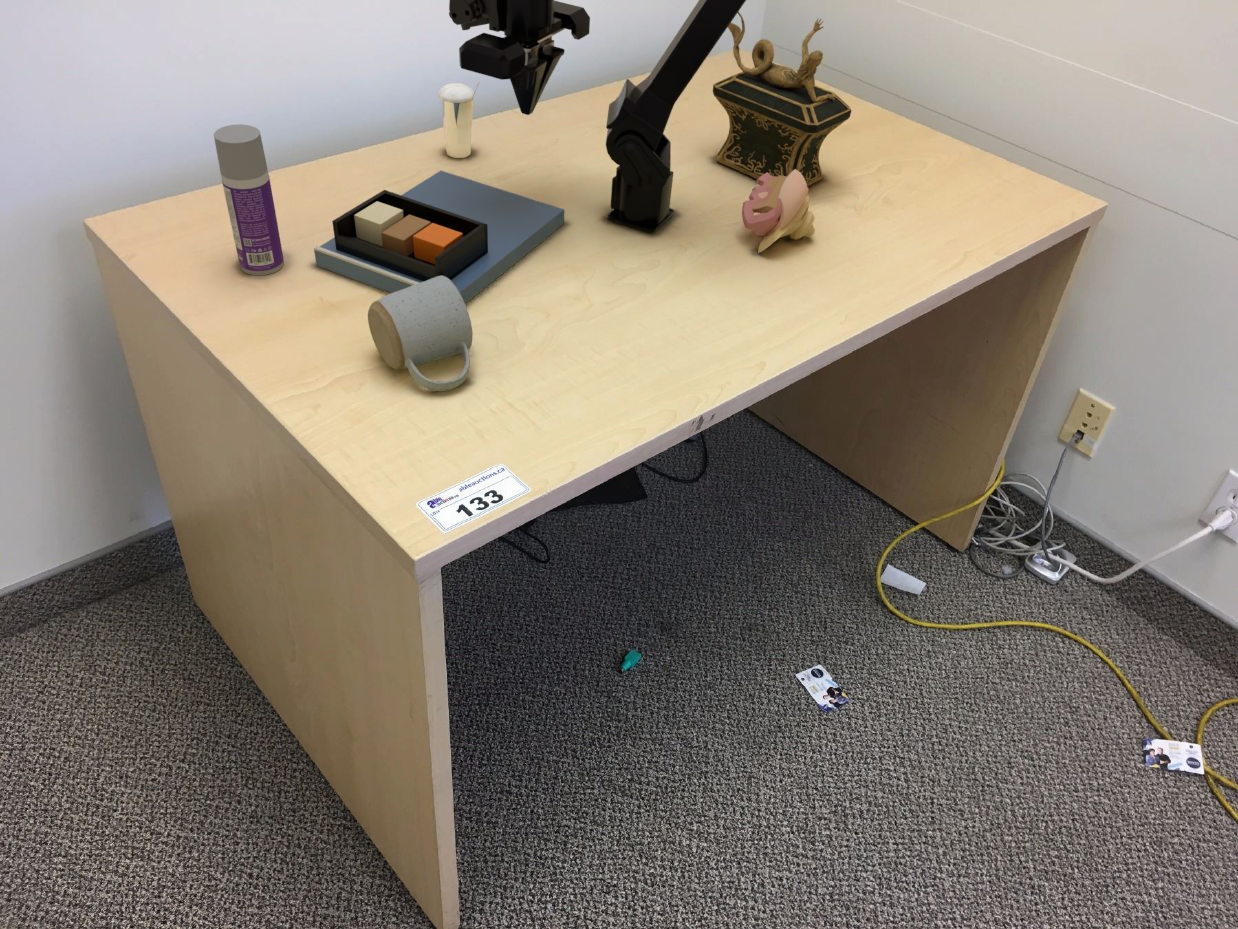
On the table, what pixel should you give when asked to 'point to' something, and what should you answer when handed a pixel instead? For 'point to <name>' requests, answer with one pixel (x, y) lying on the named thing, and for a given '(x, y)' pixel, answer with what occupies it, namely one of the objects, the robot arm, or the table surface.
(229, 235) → the table surface
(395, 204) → the black open tray
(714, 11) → the robot arm
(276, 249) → the container
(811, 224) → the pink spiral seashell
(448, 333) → the ceramic mug
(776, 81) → the decorative box
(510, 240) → the blue flat slab
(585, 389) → the table surface
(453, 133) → the milkshake
